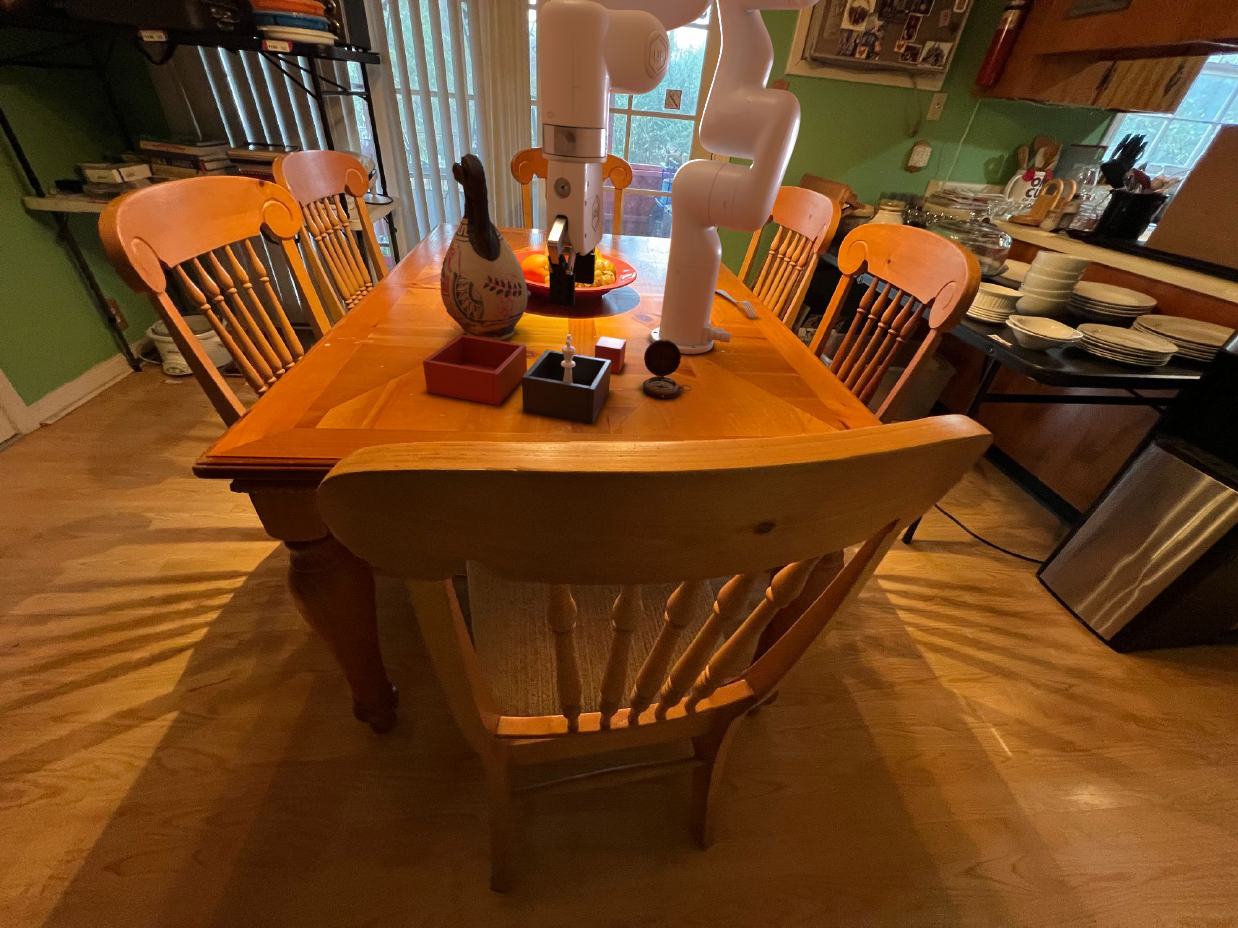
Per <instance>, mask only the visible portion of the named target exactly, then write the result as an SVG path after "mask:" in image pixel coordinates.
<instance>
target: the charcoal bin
mask: <svg viewBox="0 0 1238 928" xmlns="http://www.w3.org/2000/svg"><path fill="white" fill-rule="evenodd" d="M564 360H565V359H564V355H563V352H562V351H557V350H553V349H552V350H551V349H545V350H544V352H543V353H542V354H541V355H540V356H539V357H538V358H537V359H536V360H535V361H534V363H533V364H532V365H531V366H530V367H529V368H528V369H527V372H526V373H525V374H524V375H523V376H522V380H521V393H522V394H521V397H522V399H521V400H522V412H524V413H529V414H533V415H534V414H535V415H539V416H545V417H550V418H555V419H561V420H566V421H567V420H568V421H571V422H572V421H573V422H576V423H577V422H578V423H582V424H583V423H584V424H589V425H593V424H594V422H595V420H596V418H597V417H598V415H599V413H600V411H601V409H602V407H603V405H604V403H605V401H606V400H607V397H608V395H609V393H610V388H611V387H610V386H611V373H612V372H611V360H606V359H601V358H595V356H588V355H582V354H576V353H574V356H573V359H572V361H574V362H575V364H576V365H575V366H574V367H572V379H573V383H567V382H563V379H564V372H565V367H563V366H562V365H561V362H562V361H564Z"/></svg>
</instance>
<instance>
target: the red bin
mask: <svg viewBox="0 0 1238 928" xmlns="http://www.w3.org/2000/svg"><path fill="white" fill-rule="evenodd" d="M527 356H528V355H527V345H526V344H521V343H515V342H509V341H503V340H500V341H497V340H491V339H485V338H479V337H473V336H467V335H466V334H462V333H461V334H458V335H457V336H455V337H453V338H452V339H451V340H450V341H448V342H447V343H446V344H444V345H442V346H441V347H440V348H439V349H438V350H436V351H434V352H433V353H431V355H429V356H428V357H426V358H425V359H423V361H422V366H423V374H424V378H425V386H426V392H427V393H430V394H434V395H440V396H446V397H452V398H458V399H463V400H468V401H472V402H478V403H483V404H490V405H495V406H501V404H502V403H503V401H504V400H505V399H507V397H508V396H509V395H510V394H511V393H512V391H513V390H514V389H515V388H516V387H517V386H518V385H519V384H520V383H521V382H522V376H523V375H524V374H525V373H526V372H527V371H528V360H527V359H528V358H527Z"/></svg>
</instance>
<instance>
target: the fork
mask: <svg viewBox="0 0 1238 928" xmlns="http://www.w3.org/2000/svg"><path fill="white" fill-rule="evenodd" d="M715 293H718V294H720V295H722V296H724V297H725V298H727V299H729V300H730V301H731V302H733V303H735V304H741V305H742V307H743V308H744V310H745V312H746V313H747V315H748V317H749V318H750V319H755V318H756V319H758V316H757V313H756V310H755V308H754V305H753V304H752V303H751V301H749V300H736V299H735V298H733V297H732V296H731V295H730V294H729V293H727V291H725V290H724V289H715Z"/></svg>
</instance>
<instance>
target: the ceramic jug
mask: <svg viewBox="0 0 1238 928" xmlns="http://www.w3.org/2000/svg"><path fill="white" fill-rule="evenodd" d="M451 172H452V174H453V178H454V179H453V180H455V181H456V182H457V183H458V184H459V185H460V186H462V190H463V196H464V203H463V204H464V205H463V206H464V207H463V216H462V217H461V221H460V223H459V226H458V228H457V230H455V232H454V235H453V237H452V239H451V241H450V244H449V246H448V248H447V251H446V252H445V256H444V258H443V261H442V267H441V269H440V279H439V280H440V296H441V299H442V303H443V305H444V307H445V309H446V310H445V311H446V313H447V314H448V315H449V317H451V319H453V320H454V321H455V322H456V323H457V325H459V326H460V328H461V329H462V330H463V331H464V332H465V335H467V336H473V337H479V338H485V339H491V340H497V341H503V340H506V339H509V338H511V337H512V336H513V335H514V334H515V330H516V329H515V327H516V325H517V324H518V323H519V321H520V320H521V319H522V317H523V316H524V313H525V310H526V308H527V305H528V297H529V296H528V286H527V282H526V277H525V275H524V271H523V269H522V266H521V263H520V262H519V260H518V258H517V256H516V254H515V253H514V251H513V250H512V248H511V246H510V245H509V243H508V242H507V239H506V238H505V237H504V236H503V235H502V233H501V232H500V230H499V229H498V227H497V226H496V225H495V223H493V222H492V221H491V218H490V212H489V211H490V210H489V198H488V196H489V195H488V193H489V191H488V186H487V179H486V171H485V169H484V166H483V163H482V161H481V160H480V159H479V157H478V156H477V155H476V154H472V153H466V154H465V155H463V156H461V157H460V163H459V162H454V163H453V165H452V168H451Z"/></svg>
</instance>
